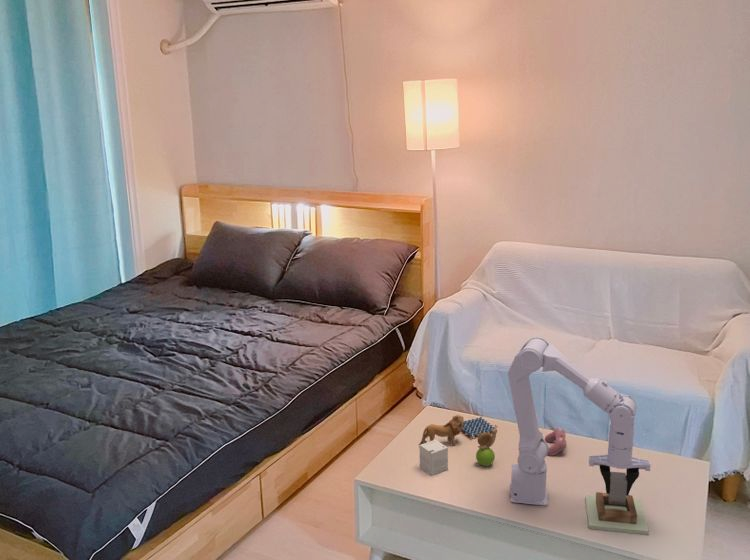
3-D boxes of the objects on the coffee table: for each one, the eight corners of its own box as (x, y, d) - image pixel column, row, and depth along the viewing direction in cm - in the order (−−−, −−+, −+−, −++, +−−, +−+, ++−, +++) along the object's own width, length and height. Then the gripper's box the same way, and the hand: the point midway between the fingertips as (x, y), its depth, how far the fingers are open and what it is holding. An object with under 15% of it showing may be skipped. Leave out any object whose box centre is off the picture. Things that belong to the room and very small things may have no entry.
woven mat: (452, 428, 230) (452, 422, 230) (480, 421, 235) (480, 415, 234) (469, 441, 221) (469, 436, 221) (498, 434, 225) (498, 428, 225)
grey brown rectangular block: (608, 504, 179) (610, 479, 177) (607, 495, 182) (609, 471, 181) (625, 505, 178) (627, 481, 176) (623, 497, 181) (625, 472, 180)
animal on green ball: (501, 466, 206) (501, 428, 202) (481, 471, 203) (482, 433, 200) (491, 457, 211) (492, 421, 207) (472, 462, 208) (472, 425, 205)
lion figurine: (460, 437, 223) (461, 411, 221) (466, 445, 218) (467, 418, 216) (416, 443, 220) (416, 416, 218) (421, 451, 215) (421, 424, 213)
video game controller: (558, 461, 210) (570, 443, 208) (544, 454, 211) (556, 436, 208) (556, 445, 220) (567, 428, 218) (543, 438, 220) (554, 421, 218)
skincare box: (435, 461, 209) (435, 438, 208) (448, 469, 205) (448, 447, 203) (419, 467, 206) (418, 444, 204) (431, 476, 201) (431, 453, 199)
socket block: (588, 528, 176) (589, 516, 175) (585, 497, 189) (585, 486, 188) (648, 534, 173) (649, 522, 172) (640, 502, 186) (641, 491, 185)
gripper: (648, 438, 178) (644, 486, 181) (589, 434, 181) (586, 481, 184) (653, 452, 171) (649, 501, 175) (591, 447, 174) (588, 496, 178)
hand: (617, 492), depth 179 cm, fingers closed on grey brown rectangular block, 4 cm apart
